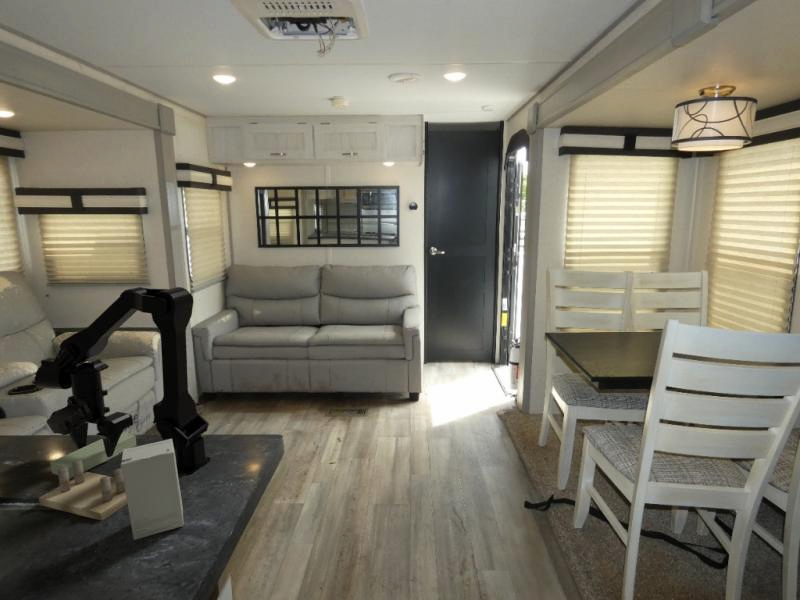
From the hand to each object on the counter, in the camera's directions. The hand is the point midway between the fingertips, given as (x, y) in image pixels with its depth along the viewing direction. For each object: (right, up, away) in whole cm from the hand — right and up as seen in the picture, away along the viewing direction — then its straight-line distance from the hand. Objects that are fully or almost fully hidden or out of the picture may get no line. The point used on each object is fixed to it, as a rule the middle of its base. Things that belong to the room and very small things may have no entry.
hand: (96, 453), depth 110 cm
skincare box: (+27, -5, -24) cm, 36 cm away
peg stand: (+9, -4, -15) cm, 18 cm away
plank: (0, -2, 0) cm, 2 cm away
